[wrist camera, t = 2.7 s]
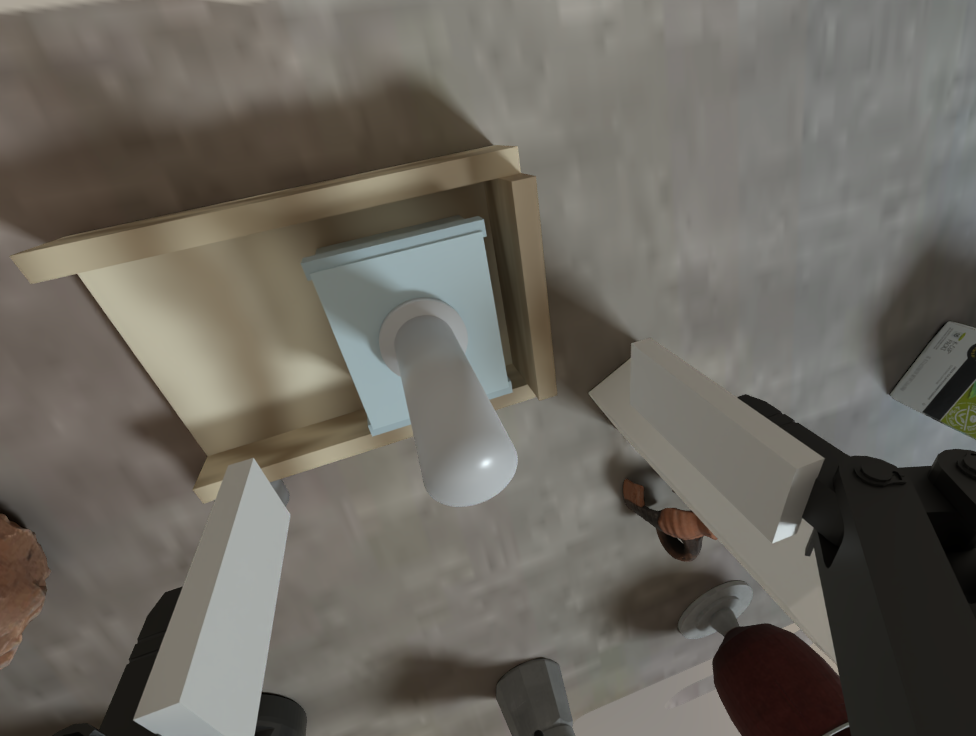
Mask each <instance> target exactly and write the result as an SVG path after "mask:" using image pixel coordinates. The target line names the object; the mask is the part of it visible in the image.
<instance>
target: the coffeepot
mask: <svg viewBox="0 0 976 736" xmlns="http://www.w3.org/2000/svg"><path fill="white" fill-rule="evenodd" d="M496 699H497V701H498V704H499V706H500V708H501V711H502V713H503V715H504V718H505V720H506V723H507V725H508V727H509V730H510V732H511V734H512V736H575V734H574V731H573V728H572V726H573V720H572V716H571V712H570V708H569V703H568V699H567V695H566V691H565V687H564V683H563V679H562V674H561V670H560V666H559V664H557V663H556V662H554V661H552V660H550V659H535V660H531V661H528V662H525V663H523V664H520V665H518V666H517V667H515V668H513V669H512V670H510V671H509V672H507V673H506V674H505V675H504V676H503V677H502V678H501V679H500V681H499V682H498V684H497V687H496Z"/></svg>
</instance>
